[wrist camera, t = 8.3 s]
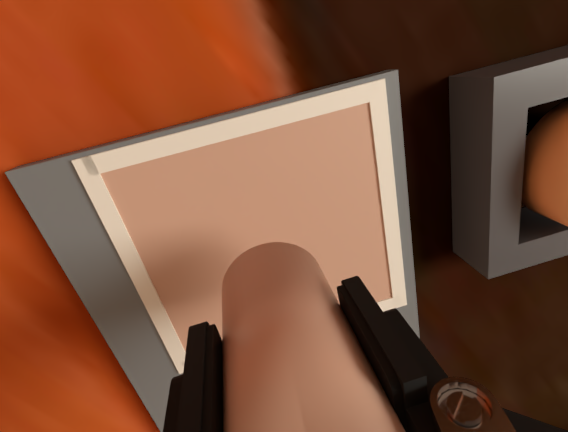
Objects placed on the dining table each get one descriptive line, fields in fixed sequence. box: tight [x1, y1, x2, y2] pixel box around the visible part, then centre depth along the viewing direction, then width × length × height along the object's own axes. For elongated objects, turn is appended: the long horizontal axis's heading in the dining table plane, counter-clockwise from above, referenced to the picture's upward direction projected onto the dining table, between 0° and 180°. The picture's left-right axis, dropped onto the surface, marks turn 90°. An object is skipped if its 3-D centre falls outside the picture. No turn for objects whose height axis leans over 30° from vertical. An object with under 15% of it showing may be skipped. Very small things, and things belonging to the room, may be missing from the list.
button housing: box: [449, 45, 568, 279], centre depth 17 cm, size 10×10×3 cm
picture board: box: [5, 70, 420, 432], centre depth 18 cm, size 17×18×1 cm
